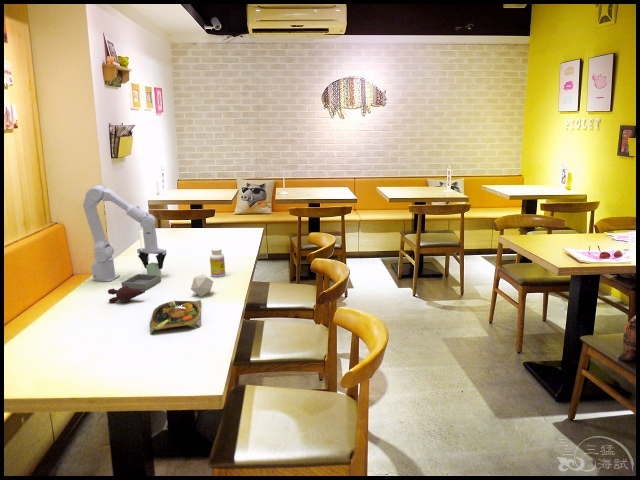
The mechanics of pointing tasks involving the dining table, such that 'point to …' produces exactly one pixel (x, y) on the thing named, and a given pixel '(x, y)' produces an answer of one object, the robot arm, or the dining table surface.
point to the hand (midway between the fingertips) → (153, 268)
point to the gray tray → (142, 281)
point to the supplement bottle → (217, 263)
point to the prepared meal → (176, 315)
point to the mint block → (153, 269)
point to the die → (202, 285)
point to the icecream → (124, 294)
